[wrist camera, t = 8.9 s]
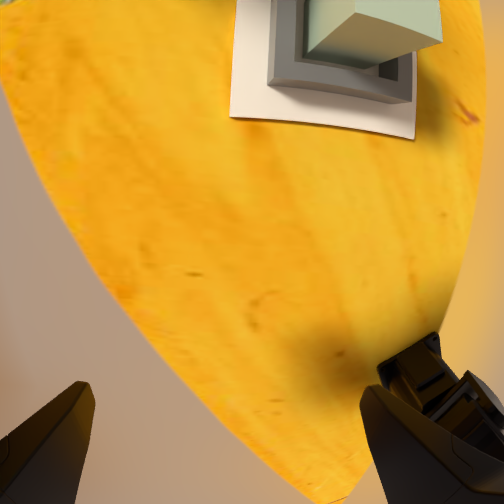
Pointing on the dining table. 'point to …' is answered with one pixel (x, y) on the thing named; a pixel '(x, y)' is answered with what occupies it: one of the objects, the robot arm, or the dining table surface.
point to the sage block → (368, 30)
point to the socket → (313, 77)
